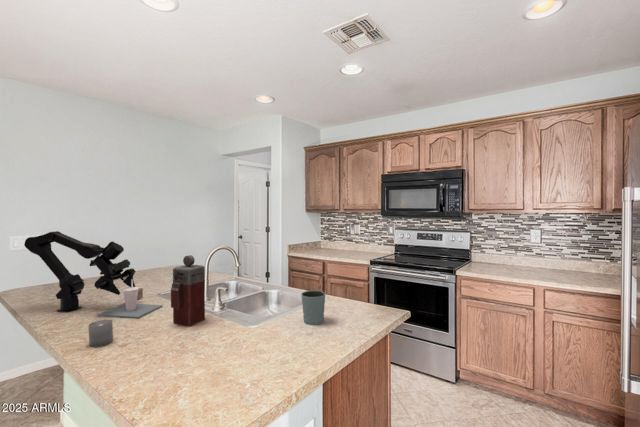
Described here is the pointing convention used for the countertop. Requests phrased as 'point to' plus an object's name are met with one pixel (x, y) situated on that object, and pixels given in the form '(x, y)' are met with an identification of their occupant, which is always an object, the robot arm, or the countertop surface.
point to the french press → (188, 293)
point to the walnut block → (140, 293)
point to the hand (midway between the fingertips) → (127, 291)
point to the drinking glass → (313, 307)
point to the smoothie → (131, 297)
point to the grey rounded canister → (100, 333)
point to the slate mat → (123, 313)
